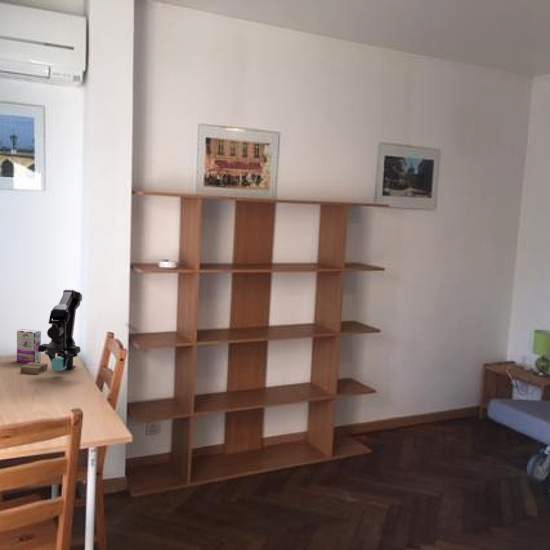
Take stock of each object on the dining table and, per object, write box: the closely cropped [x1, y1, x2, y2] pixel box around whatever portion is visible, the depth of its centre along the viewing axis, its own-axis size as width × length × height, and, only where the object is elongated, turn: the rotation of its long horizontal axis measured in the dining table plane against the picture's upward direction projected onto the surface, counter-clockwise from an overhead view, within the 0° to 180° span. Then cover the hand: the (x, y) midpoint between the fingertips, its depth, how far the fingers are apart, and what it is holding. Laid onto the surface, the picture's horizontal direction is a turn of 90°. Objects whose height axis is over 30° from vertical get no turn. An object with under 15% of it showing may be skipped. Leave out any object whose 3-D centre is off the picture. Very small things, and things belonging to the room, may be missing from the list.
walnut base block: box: [20, 362, 49, 375], centre depth 293 cm, size 9×9×3 cm
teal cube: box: [50, 356, 67, 372], centre depth 285 cm, size 5×5×5 cm
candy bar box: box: [16, 328, 42, 364], centre depth 308 cm, size 11×5×16 cm, turn 73°
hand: (58, 366), depth 286 cm, fingers closed on teal cube, 5 cm apart
